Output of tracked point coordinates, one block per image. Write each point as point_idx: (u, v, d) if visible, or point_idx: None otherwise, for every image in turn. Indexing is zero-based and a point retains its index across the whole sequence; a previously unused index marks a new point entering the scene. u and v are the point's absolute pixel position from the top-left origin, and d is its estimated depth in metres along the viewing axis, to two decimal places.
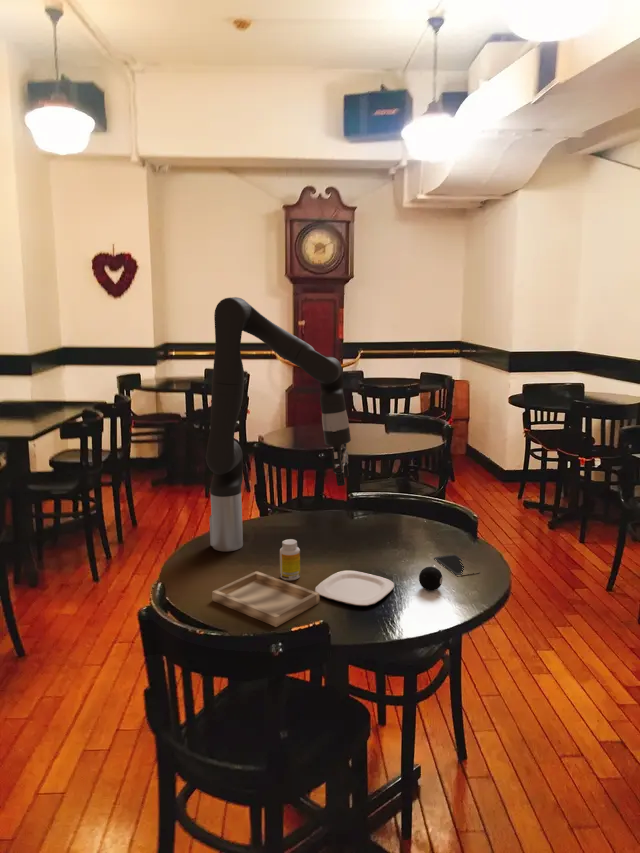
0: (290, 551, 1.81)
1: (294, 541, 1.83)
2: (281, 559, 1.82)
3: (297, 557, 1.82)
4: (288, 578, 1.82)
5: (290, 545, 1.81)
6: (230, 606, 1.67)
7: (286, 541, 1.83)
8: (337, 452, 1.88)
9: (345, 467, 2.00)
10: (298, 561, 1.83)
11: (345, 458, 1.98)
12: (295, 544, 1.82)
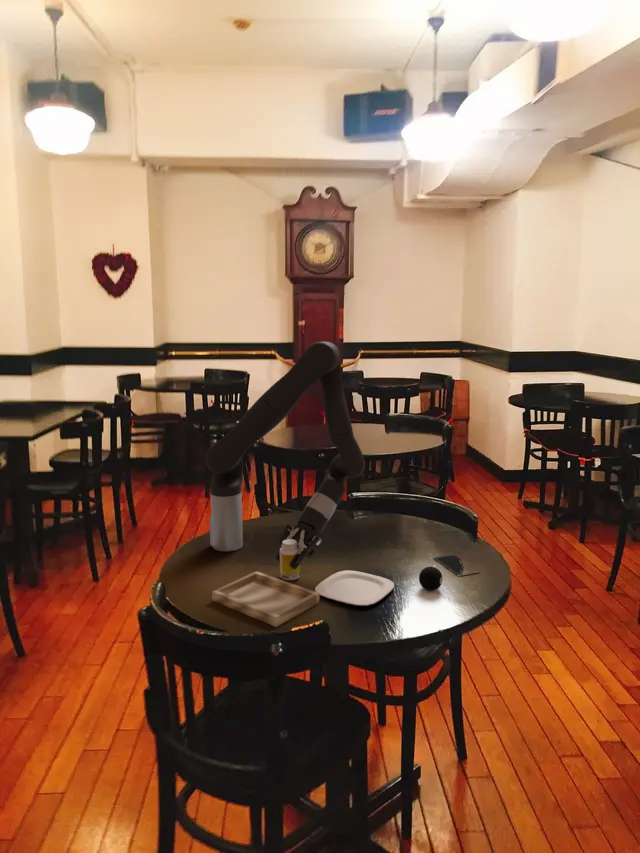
0: (290, 551, 1.81)
1: (294, 541, 1.83)
2: (281, 559, 1.82)
3: None
4: (288, 578, 1.82)
5: (290, 545, 1.81)
6: (230, 606, 1.67)
7: (286, 541, 1.83)
8: (321, 541, 1.82)
9: None
10: None
11: None
12: (295, 544, 1.82)
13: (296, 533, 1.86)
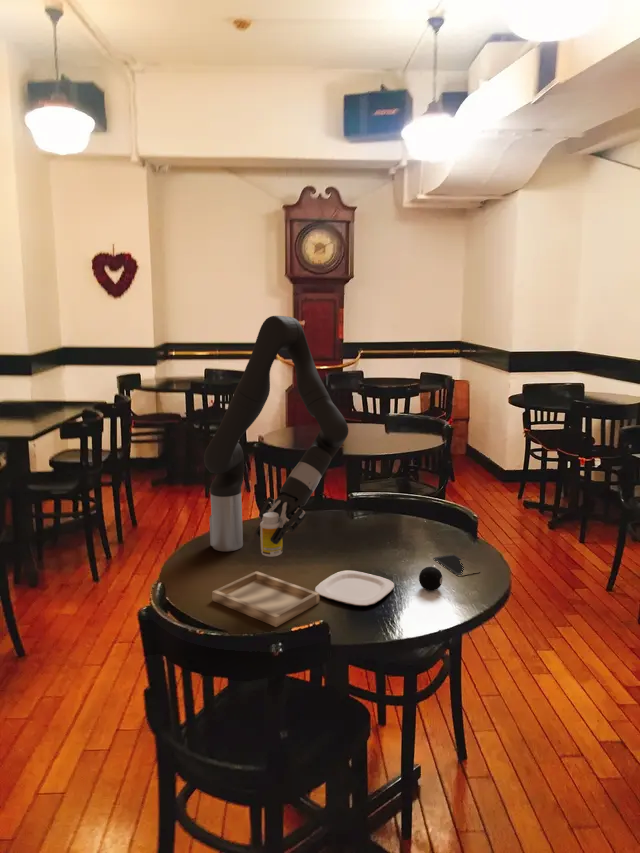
0: (271, 524, 1.67)
1: (276, 514, 1.69)
2: (262, 533, 1.68)
3: None
4: (269, 554, 1.68)
5: (271, 518, 1.67)
6: (230, 606, 1.67)
7: (267, 514, 1.69)
8: (305, 513, 1.68)
9: None
10: None
11: None
12: (277, 517, 1.68)
13: (278, 506, 1.72)
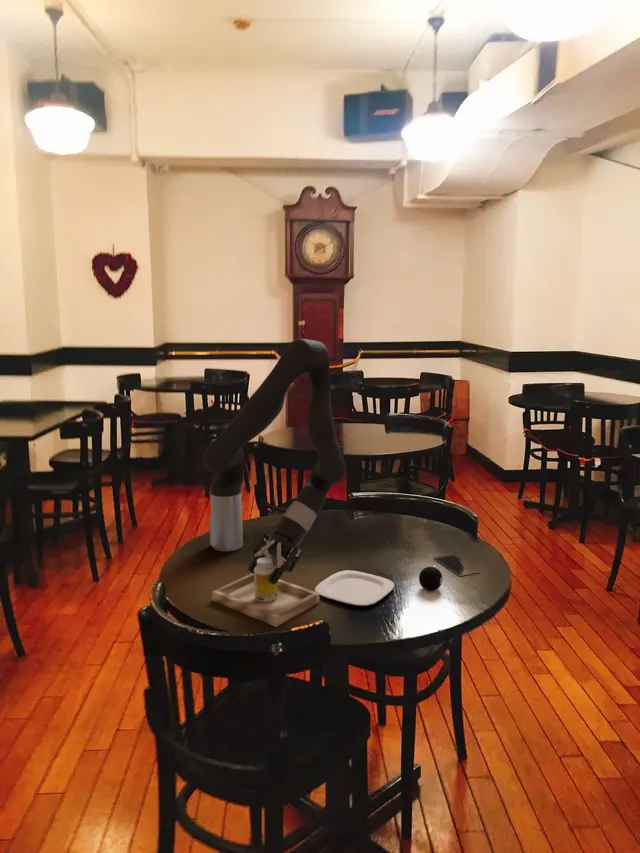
0: (265, 571, 1.67)
1: (269, 559, 1.69)
2: (255, 579, 1.68)
3: None
4: (263, 600, 1.68)
5: (265, 564, 1.67)
6: (230, 606, 1.67)
7: (261, 559, 1.69)
8: (300, 551, 1.67)
9: None
10: None
11: (270, 555, 1.73)
12: (270, 563, 1.68)
13: (271, 545, 1.71)
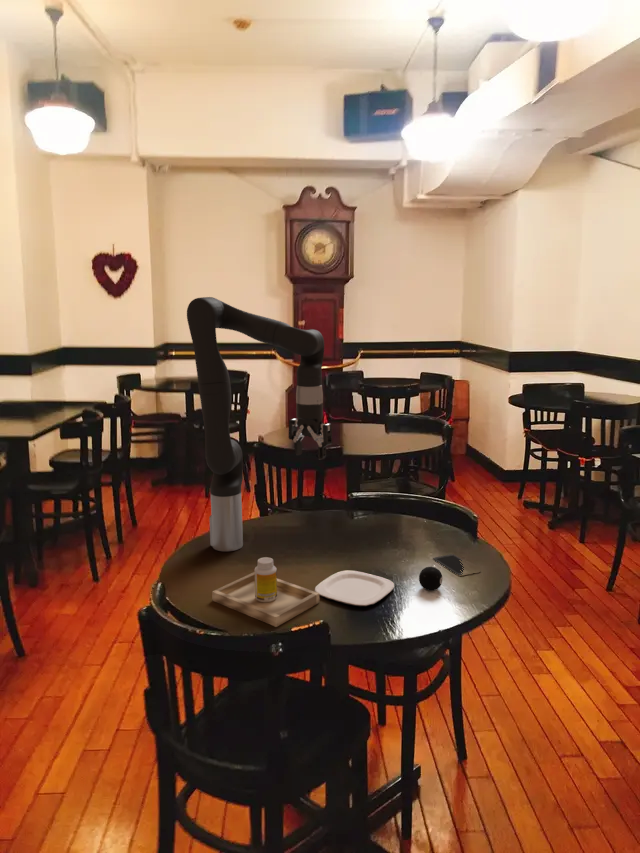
0: (266, 571, 1.67)
1: (270, 559, 1.69)
2: (256, 579, 1.68)
3: (273, 577, 1.68)
4: (263, 600, 1.68)
5: (266, 564, 1.67)
6: (230, 606, 1.67)
7: (261, 559, 1.69)
8: (329, 424, 1.88)
9: (300, 444, 1.96)
10: (274, 581, 1.68)
11: None
12: (271, 563, 1.68)
13: (302, 430, 1.92)
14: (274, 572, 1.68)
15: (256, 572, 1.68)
